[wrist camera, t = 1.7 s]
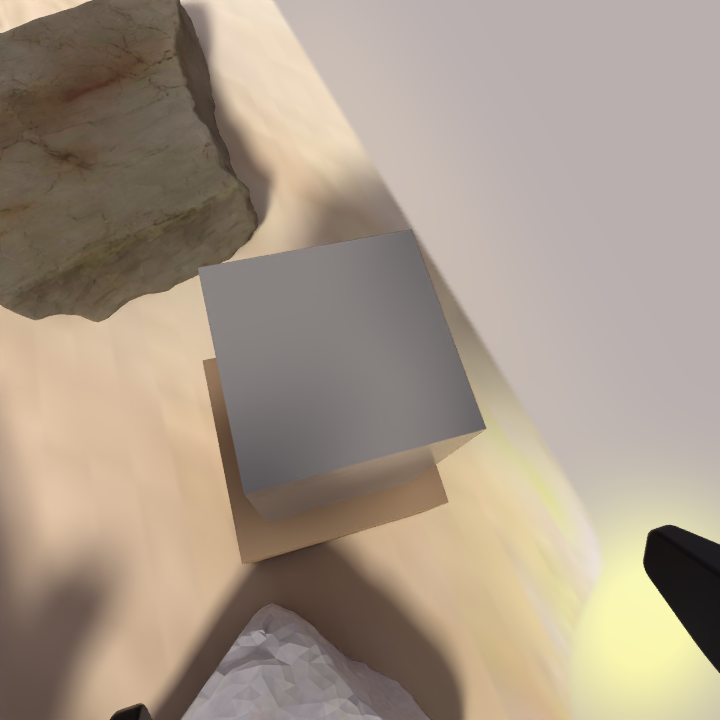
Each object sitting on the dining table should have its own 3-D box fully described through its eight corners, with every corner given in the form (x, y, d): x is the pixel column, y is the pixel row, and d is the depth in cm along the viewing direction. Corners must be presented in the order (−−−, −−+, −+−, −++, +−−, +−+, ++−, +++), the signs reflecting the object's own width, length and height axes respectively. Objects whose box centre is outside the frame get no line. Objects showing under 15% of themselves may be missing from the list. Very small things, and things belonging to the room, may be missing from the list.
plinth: (422, 512, 21) (448, 502, 17) (252, 563, 20) (242, 564, 16) (374, 358, 23) (388, 320, 20) (218, 394, 22) (202, 360, 18)
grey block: (411, 481, 17) (486, 428, 11) (266, 522, 16) (244, 494, 10) (370, 349, 19) (411, 229, 12) (236, 380, 18) (197, 267, 11)
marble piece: (189, 37, 30) (173, -41, 26) (323, 222, 26) (327, 164, 22) (-127, 138, 25) (-205, 60, 21) (-16, 382, 21) (-85, 343, 18)
